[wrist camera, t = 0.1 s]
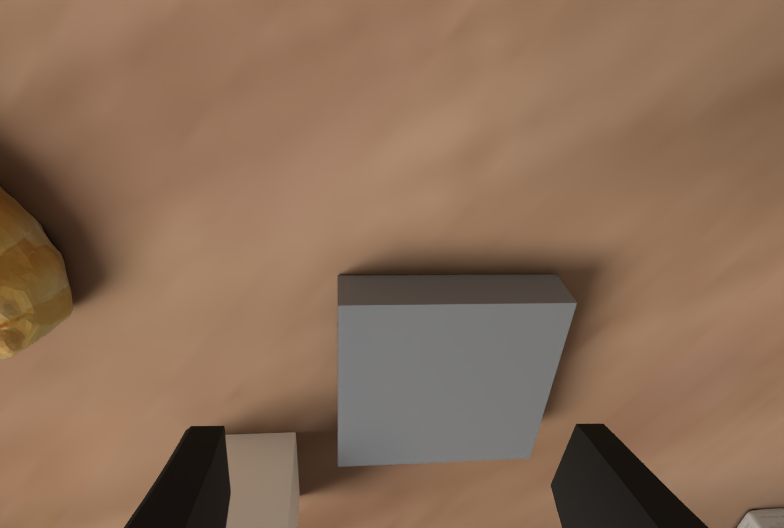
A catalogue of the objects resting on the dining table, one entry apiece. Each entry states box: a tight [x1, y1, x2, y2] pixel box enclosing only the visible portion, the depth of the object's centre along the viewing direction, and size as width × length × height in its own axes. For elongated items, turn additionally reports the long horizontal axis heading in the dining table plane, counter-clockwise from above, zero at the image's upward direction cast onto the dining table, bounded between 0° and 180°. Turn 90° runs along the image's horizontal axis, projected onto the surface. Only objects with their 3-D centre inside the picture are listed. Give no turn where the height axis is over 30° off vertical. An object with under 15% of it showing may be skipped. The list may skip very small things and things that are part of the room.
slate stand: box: [338, 274, 577, 467], centre depth 22 cm, size 9×9×2 cm
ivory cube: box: [225, 432, 300, 528], centre depth 23 cm, size 5×5×5 cm
